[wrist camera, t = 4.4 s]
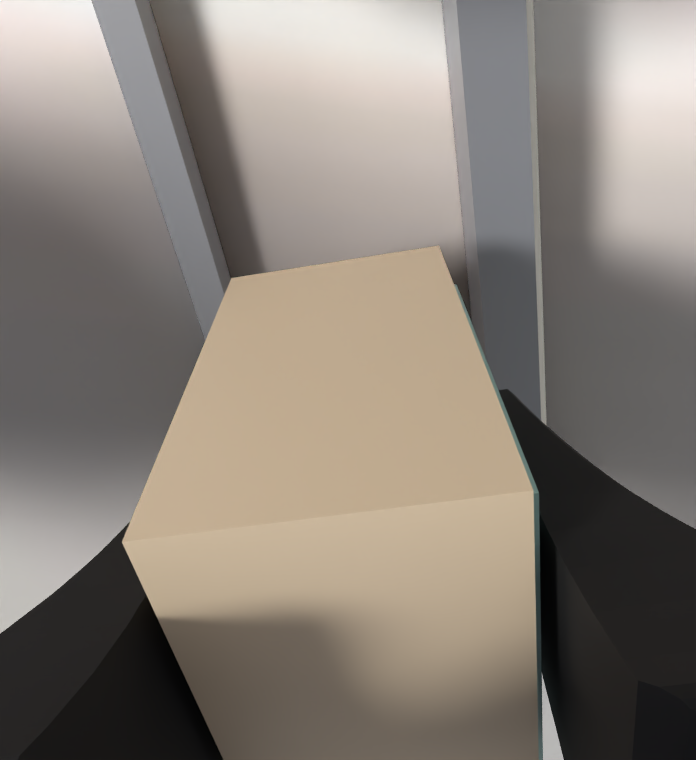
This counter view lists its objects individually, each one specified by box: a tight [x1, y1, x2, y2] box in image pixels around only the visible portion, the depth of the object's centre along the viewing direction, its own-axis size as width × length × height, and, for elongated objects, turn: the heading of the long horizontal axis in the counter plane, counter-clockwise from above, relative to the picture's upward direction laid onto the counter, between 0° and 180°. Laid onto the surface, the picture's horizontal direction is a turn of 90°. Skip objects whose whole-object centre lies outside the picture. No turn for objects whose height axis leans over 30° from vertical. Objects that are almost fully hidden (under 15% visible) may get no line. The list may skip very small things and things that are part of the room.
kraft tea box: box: [122, 246, 543, 760], centre depth 11 cm, size 4×6×7 cm
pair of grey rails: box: [92, 0, 547, 426], centre depth 15 cm, size 8×26×2 cm, turn 10°
